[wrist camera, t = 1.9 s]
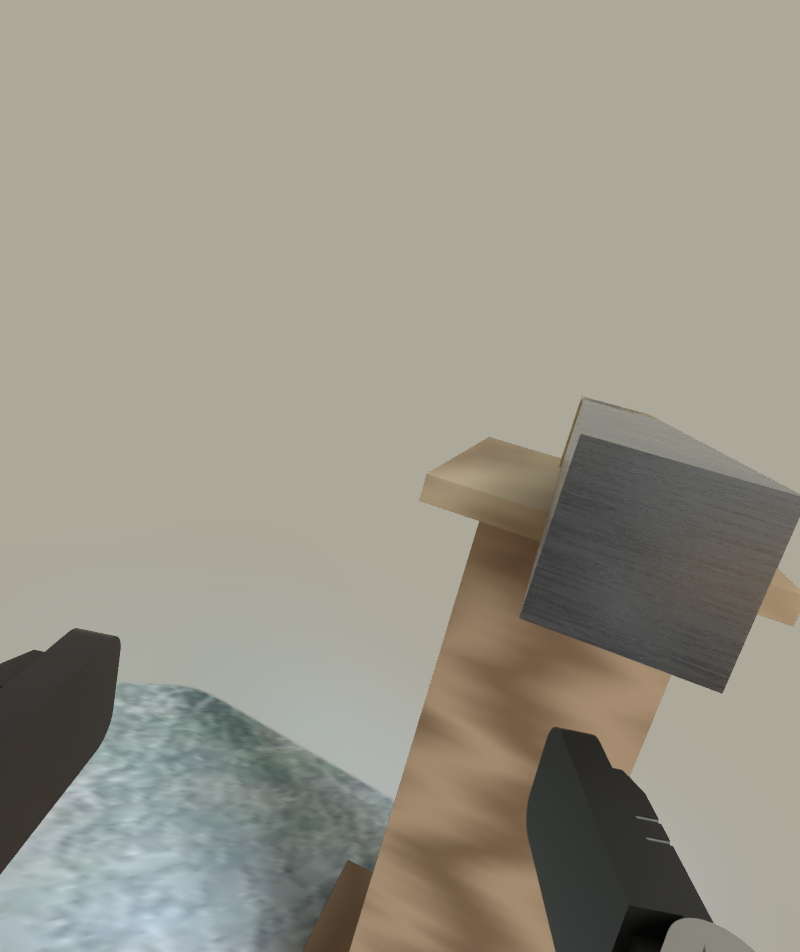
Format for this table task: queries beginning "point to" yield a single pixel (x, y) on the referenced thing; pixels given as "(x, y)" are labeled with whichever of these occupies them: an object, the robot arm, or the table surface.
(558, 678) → the walnut stand
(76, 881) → the table surface
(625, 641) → the steel block
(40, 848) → the table surface
